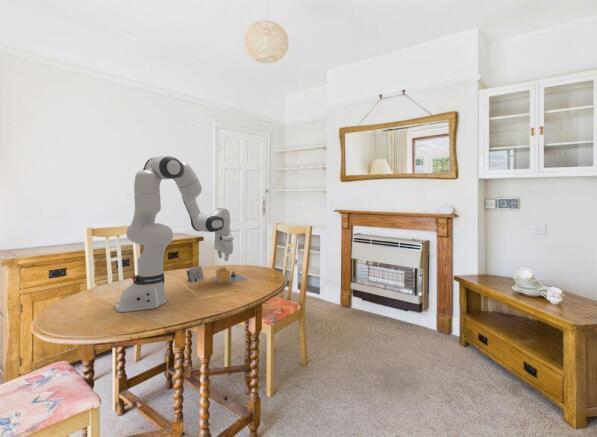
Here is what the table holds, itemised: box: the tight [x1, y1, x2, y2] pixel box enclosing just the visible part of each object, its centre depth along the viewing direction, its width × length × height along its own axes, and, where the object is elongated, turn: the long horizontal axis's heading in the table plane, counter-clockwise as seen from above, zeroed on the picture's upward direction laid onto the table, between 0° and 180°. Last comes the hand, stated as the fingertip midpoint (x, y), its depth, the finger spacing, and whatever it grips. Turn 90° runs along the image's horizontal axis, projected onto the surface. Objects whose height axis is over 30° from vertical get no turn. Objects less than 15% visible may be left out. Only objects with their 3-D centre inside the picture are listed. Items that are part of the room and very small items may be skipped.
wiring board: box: [210, 269, 249, 285], centre depth 192 cm, size 18×16×6 cm
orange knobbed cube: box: [215, 266, 231, 284], centre depth 187 cm, size 6×6×8 cm
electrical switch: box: [186, 265, 205, 283], centre depth 189 cm, size 9×5×9 cm, turn 152°
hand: (223, 259), depth 186 cm, fingers open, 8 cm apart
